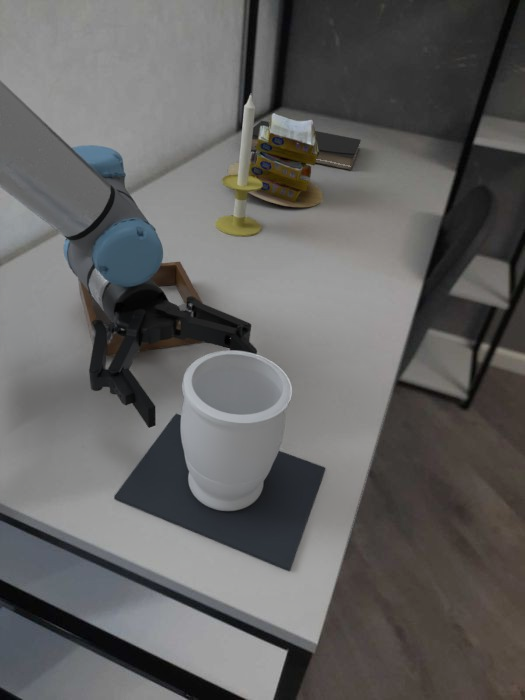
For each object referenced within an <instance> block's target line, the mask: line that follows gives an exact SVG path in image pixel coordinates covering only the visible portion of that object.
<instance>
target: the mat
mask: <svg viewBox="0 0 525 700" xmlns="http://www.w3.org/2000/svg"><path fill="white" fill-rule="evenodd" d="M180 424H181V414H179V413H175V414H174V415H173V416H172V418H171V419H170V421H169V422H168V423H167V424H166V426H165V427H164V429H163V430H162V431H161V432H160V434H159V435H158V437H156V439H155V441H154V442H153V443H152V444H151V446H150V447H149V448H148V450H147V452H146V453H145V454H144V455H143V457H142V458H141V460H140V461H139V462H138V464H137V465H136V466H135V468H134V469H133V470H132V471H131V473H130V474H129V475H128V477H127V478H126V480H125V481H124V483H123V484H122V485H121V487H120V488H119V489H118V490H117V492H116V493H115V494H114V498H113V499H114V500H115V501H118V502H121V503H123V504H126V505H128V506H130V507H132V508H135V509H138V510H140V511H143V512H144V513H148V514H150V515H151V516H155V517H157V518H159V519H163V520H164V521H167V522H168V523H172V524H174V525H177V526H178V527H181V528H183V529H186V530H188V531H191V532H193V533H196V534H198V535H201V536H203V537H205V538H208V539H211V540H213V541H215V542H218V543H220V544H223V545H224V546H228V547H229V548H232V549H235V550H236V551H239V552H242V553H244V554H246V555H249V556H252V557H254V558H256V559H259V560H261V561H263V562H266V563H269V564H271V565H274V566H275V567H278V568H281V569H283V570H286V571H288V572H290V570H291V568H292V565H293V562H294V560H295V556H296V554H297V551H298V548H299V546H300V545H299V544H300V542H301V539H302V538H303V533H304V531H305V528H306V525H307V523H308V520H309V517H310V515H311V511H312V508H313V505H314V503H315V501H316V500H315V499H316V497H317V494H318V491H319V488H320V486H321V482H322V480H323V477H324V474H325V471H326V467H325V466H323V465H320V464H317V463H314V462H311V461H308V460H305V459H303V458H300V457H298V456H294V455H292V454H289V453H286V452H284V451H281V450H279V452H278V454H277V456H276V458H275V460H274V462H273V465H272V467H271V469H270V471H269V473H268V475H267V477H266V478H265V480H264V483H263V489H262V492H261V494H260V496H259V497H258V498H257V500H256V501H255V502H254V503H252V504H251V505H249V506H248V507H245V508H243V509H240V510H236V511H220V510H216V509H213V508H210V507H208V506H206V505H204V504H203V503H201V502H200V501H199V500H198V499H197V498H196V497H195V496H194V495H193V493H192V491H191V489H190V487H189V482H188V475H189V470H188V467H187V464H186V460H185V455H184V449H183V445H182V440H181V429H180Z"/></svg>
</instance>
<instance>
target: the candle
mask: <svg viewBox="0 0 525 700" xmlns="http://www.w3.org/2000/svg"><path fill="white" fill-rule="evenodd" d="M255 113H256V106H255V103H254V101H253V95H252V94H249V96H248V99H247V101H246V103H245V104H244V106H243V116H242V125H241V127H242V128H241V138H240V149H239V160H238V162H239V170H238V174H236V175H229V174H228V175H225V176H224V177H222V178H221V182H222V185H224V186H225V187H226V188H228V189H230V190H234V191H235V193H234V194H235V196H234V204H233V205H234V206H233V207H234V208H233V214H232V215H224V216H222V217H219V218H218V219H217V220H216V221H215V227H216V229H217V230H218V231H220V232H222V233H224V234H226V235H229V236H232V237H233V236H234V237H242V238H243V237H245V238H246V237H252V236H256V235H258V234H259V233H260V232H261V231H262V227H261V224H260V223H259V222H258V221H257V220H255V219H253V218H252V217H248V216H246V212H247V202H248V194H249V193H248V192H250V191H257V190H260V189H261V188H262V187H263V183H262V182H261V181H260V180H259V179H257V178H254V177H252V176H248V175H249V165H250V159H251V156H252V150H251V145H252V135H253V127H254V125H255Z"/></svg>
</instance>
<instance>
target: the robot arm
mask: <svg viewBox="0 0 525 700" xmlns="http://www.w3.org/2000/svg"><path fill="white" fill-rule="evenodd" d="M123 159H124V158H123V156H122V155H121V154H120V153H119V152H118V151H117V150H115V149H113V148H112V147H111V148H110V147H107V146H102V145H95V144H94V145H92V144H88V145H87V144H86V145H77V146H71V145H70V144H69V143H67V141H65V140H64V139H63V138H62V137H61V136H60V135H59V134H58V133H57V132H56V131H55V130H53V129H52V127H50V126H49V124H47V123H46V122H45V121H44V120H43V119H42V118H41V117H40V116H39V115H37V113H36V112H34V110H32V109H31V108H30V107H29V106H28V105H27V104H26V103H25V102H24V101H23V100H22V99H21V98H20V97H19V96H18V95H17V94H15V93H14V92H13V91H12V90H11V89H10V88H9V87H8V86H7V85H6V84H5V83H4V82H3V81H2V80H1V79H0V188H1V189H2V190H3V191H5V192H6V193H7V194H8V195H10V196H11V197H12V198H13V199H15V200H16V201H18V203H20V204H21V205H23V206H24V207H25V208H27V209H28V210H29V211H31V212H32V213H33V214H34V215H36V216H37V217H39V218H40V219H41V220H42V221H44V223H46V224H48V225H49V226H50V227H51V228H53V229H54V230H55V231H56V232H58V233H59V234H60V235H62V236H63V237H64V238H65V241H64V243H63V255H64V258H65V260H66V262H67V264H68V267H69V269H70V270H71V271H72V273H73V274H74V276H76V277H77V279H78V278H79V280H80V281H81V282H82V283H83V285H84V286H85V287H86V288H87V290H88V291H89V292H90V296H91V297H92V298H93V299H94V300H95V302H96V303H97V304H98V306H99V307H100V309H101V310H102V311H103V312H104V314H105V316H106V317H107V318H108V320H109V321H110V322H108V323H104V322H103V320H102V319H97V320H94V321H92V327H93V337H94V345H93V344H92V352H91V356H90V363H89V369H88V375H89V385H90V390H91V391H93V392H100V391H101V390H102V389H103V388H109V393H110V394H111V395H113V396H116V397H117V398H118V399H119V401H120V403H121V404H122V405H124V406H129V405H131V404H132V405H133V407H134V408H135V410H136V411H137V413H138V415H139V416H140V417H141V419H142V420H143V422H144V423H145V424H146V426H147V427H148V428H152V427H155V426H156V423H157V421H156V419H157V418H156V411H157V410H156V405H155V403H154V402H153V401H152V399H151V398H150V397H149V395H148V394H147V392H146V390H145V389H144V388H143V386H142V385H141V383H140V382H139V381H138V379H137V378H136V377H135V376H134V374H133V373H132V371H131V369H130V368H131V366H132V364H133V362H134V360H135V357H136V355H137V354H139V352H140V351H139V350H140V348H141V346H142V344H143V343H148V344H149V345H150V344H154V343H156V342H158V341H160V340H167V339H171V338H172V337H174V338H178V339H181V340H185V339H186V338H190V339H194V340H198V341H202V342H201V343H206V344H210V345H214V346H218V347H221V348H225V349H228V350H235V351H244V352H250V353H253V354H257V355H258V350H257V348H256V347H255V346H254V345H253V344H252V343H251V342H250V340H251V331H252V324H251V323H250V322H248V321H246V320H243V319H242V318H238V317H236V316H234V315H232V314H229V313H226V312H224V311H221V310H220V309H217V308H215V307H212V306H210V305H208V304H206V303H203V302H202V303H201V302H200V301H199V300H198V299H196V298H195V297H192V296H190V297H187V303H185V302H184V303H183V304H182V303H181V304H180V305H178V304H176V303H173V302H171V301H170V300H169V299H168V297H167V295H166V293H165V292H164V291H163V290H162V288H161V286H158V285H157V284H156V283H155V282H154V281H153V280H152V279H151V277H153V275H154V274H155V273H156V272H157V271H158V269H159V268H160V266H161V263H163V260H164V259H163V258H164V249H163V244H162V241H161V239H160V237H159V235H158V233H157V229H156V228H155V226H154V225H152V224H151V223H150V222H149V220H148V218H146V216H145V215H144V213H143V212H142V211H141V209H140V208H139V206H138V205H137V203H136V201H135V200H134V199H133V197H132V196H131V194H130V192H129V191H128V190H127V188H126V183H125V180H126V175H127V173H126V172H125V167H124V166H125V165H124V160H123ZM179 320H180V321H181V330H179V329H177V327H178V323H179ZM115 333H116V334H118V335H119V336H121V337H124V339H123V341H122V343H121V345H120V347H119V349H118V351H117V353H116V354H115V355H113V356H114V357H113V358H112V360H111V362H110V364H109V366H108V368H107V367H106V366H107V365H106V364H107V358H108V356H107V352H108V344H107V343H110V340H111V339H112V338H113V334H115ZM106 368H107V369H106Z"/></svg>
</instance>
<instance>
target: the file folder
mask: <svg viewBox="0 0 525 700" xmlns="http://www.w3.org/2000/svg"><path fill="white" fill-rule="evenodd" d="M261 125H263V126H267V127H269V125H270V121H269V123H268V121H267V120H260V121H259V122H258V123H257V124H255V126H253V135H252V145H251V152H253V151H254V152H255V148H254V147H255V146H257V143H256V142H257V140H258V134H259V129H260V126H261ZM315 139H316V141H317V146H318V151H319V155H318V157H317V159H321V160H327V161H332V162H336V163H340V164H345V165H350V166H352V167H348V166H343V165H338V164H334V163H330V162H325V161H320V160H316V162H315V164H317V165H320V166H321V165H322V166H327V167H332V168H337V169H341V170H345V171H346V170H347V171H351V170H352V168H353V165H354V163H355V160H356V157H357V155H358V153H359V149H360V146H359V144H360V145H361V141H362V140H361V139H359V138H355V137H349V136H344V135H339V134H334V133H328V132H323V131H318V130H315ZM358 147H359V148H358ZM357 150H358V151H357ZM356 153H357V154H356ZM355 155H356V156H355ZM354 158H355V159H354Z"/></svg>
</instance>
